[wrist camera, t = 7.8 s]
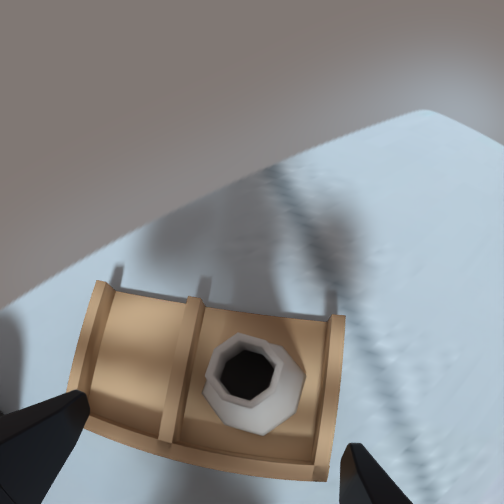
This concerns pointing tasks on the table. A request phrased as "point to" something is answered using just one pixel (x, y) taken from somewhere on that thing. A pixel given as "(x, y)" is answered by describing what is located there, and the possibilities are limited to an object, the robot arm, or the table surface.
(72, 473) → the table surface
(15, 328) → the table surface
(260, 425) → the flask
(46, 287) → the table surface
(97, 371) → the rack
